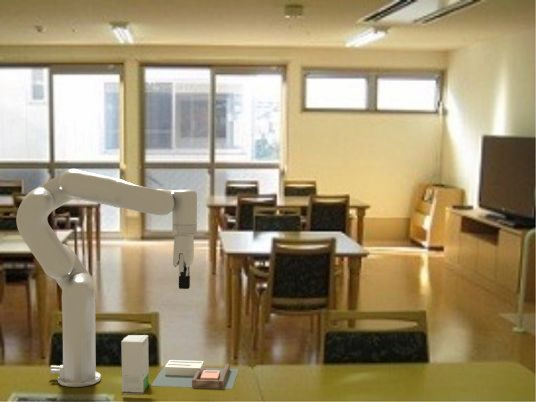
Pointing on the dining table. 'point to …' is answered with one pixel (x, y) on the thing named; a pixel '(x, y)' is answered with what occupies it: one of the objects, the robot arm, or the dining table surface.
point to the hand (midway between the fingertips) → (184, 288)
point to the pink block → (210, 375)
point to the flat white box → (183, 367)
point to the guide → (211, 383)
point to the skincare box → (135, 364)
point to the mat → (187, 380)
